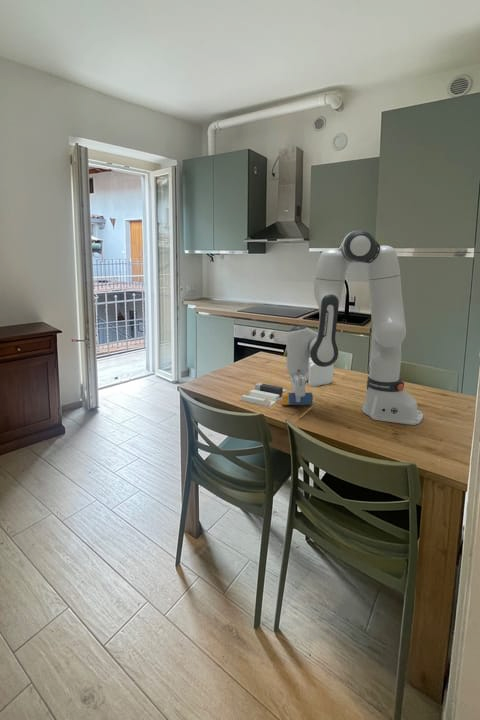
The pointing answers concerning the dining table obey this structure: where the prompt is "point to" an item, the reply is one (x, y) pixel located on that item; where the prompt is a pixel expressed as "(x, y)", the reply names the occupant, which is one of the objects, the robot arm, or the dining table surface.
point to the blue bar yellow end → (291, 399)
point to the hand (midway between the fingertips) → (297, 399)
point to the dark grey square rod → (269, 389)
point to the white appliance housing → (261, 397)
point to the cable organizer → (319, 374)
